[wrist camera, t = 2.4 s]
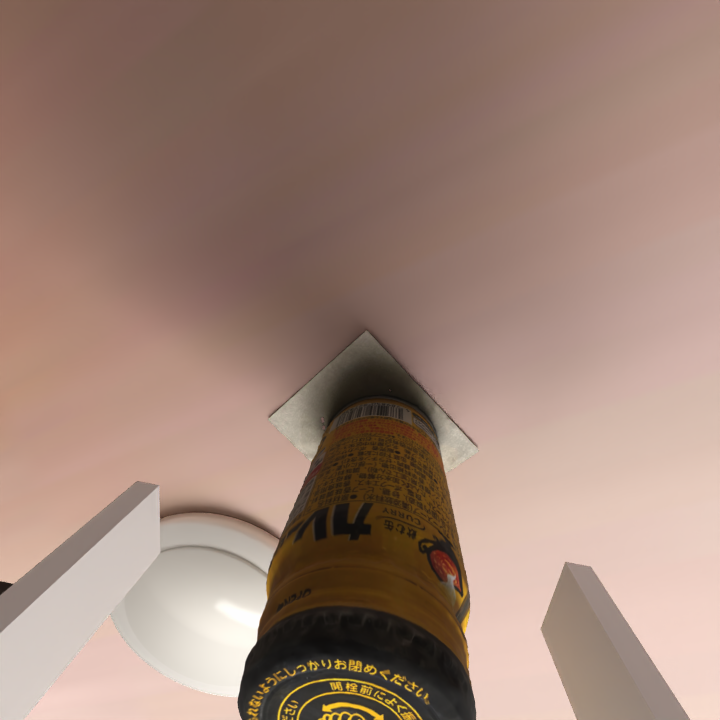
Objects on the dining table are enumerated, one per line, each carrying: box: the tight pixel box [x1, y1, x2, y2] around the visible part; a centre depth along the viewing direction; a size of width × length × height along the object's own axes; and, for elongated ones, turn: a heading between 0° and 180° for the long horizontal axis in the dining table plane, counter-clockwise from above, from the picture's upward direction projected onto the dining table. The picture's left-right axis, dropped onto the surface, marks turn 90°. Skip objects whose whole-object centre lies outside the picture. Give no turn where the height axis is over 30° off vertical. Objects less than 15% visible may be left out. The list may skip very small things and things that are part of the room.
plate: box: [110, 512, 279, 697], centre depth 22 cm, size 14×14×1 cm
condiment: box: [238, 330, 479, 720], centre depth 13 cm, size 7×8×12 cm
